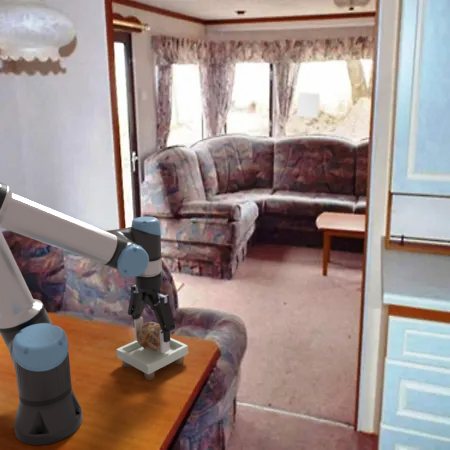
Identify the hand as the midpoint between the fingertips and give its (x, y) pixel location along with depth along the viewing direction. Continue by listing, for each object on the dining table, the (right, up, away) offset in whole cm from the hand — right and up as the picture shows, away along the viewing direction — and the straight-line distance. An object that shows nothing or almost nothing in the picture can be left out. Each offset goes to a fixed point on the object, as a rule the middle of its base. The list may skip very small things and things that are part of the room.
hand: (152, 345), depth 144 cm
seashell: (+1, -1, +1) cm, 1 cm away
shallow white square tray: (0, -6, +1) cm, 6 cm away
